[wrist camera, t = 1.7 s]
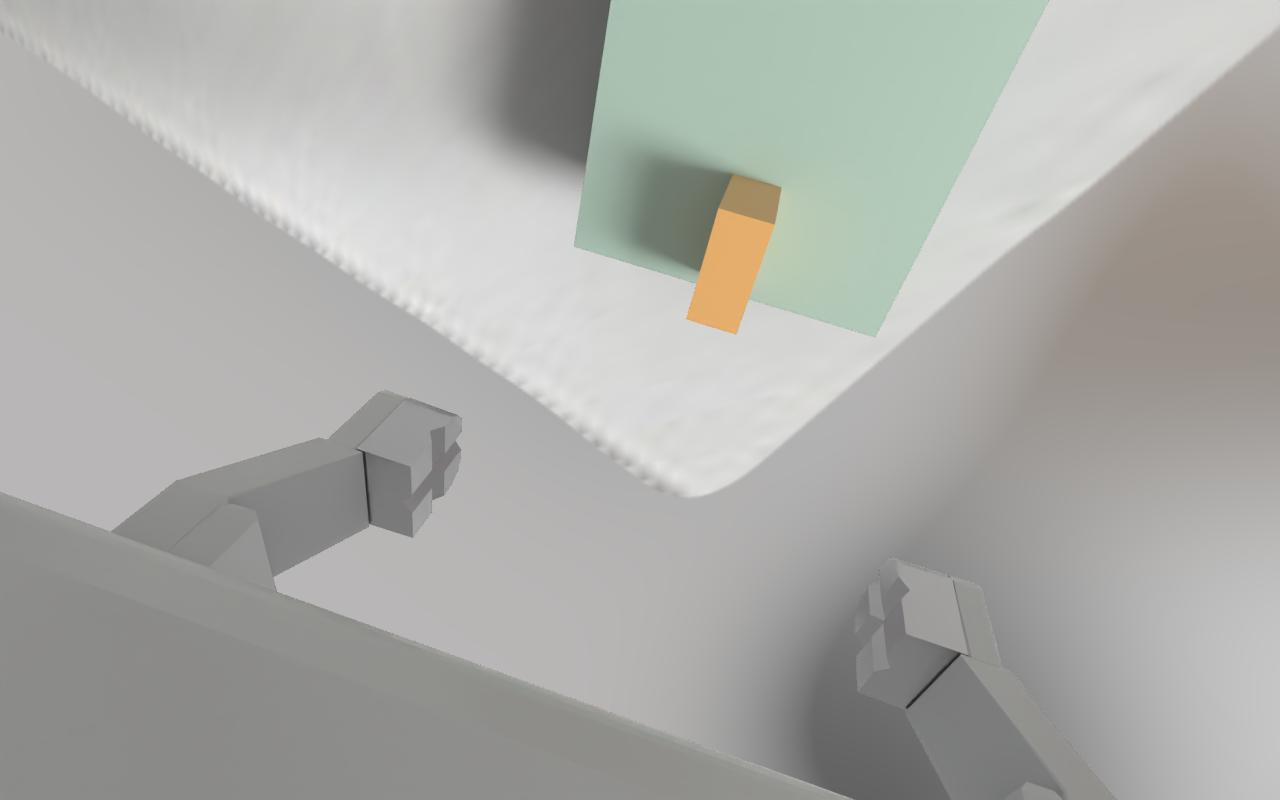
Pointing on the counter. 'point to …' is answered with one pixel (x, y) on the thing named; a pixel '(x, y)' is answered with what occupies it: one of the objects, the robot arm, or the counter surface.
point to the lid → (789, 143)
